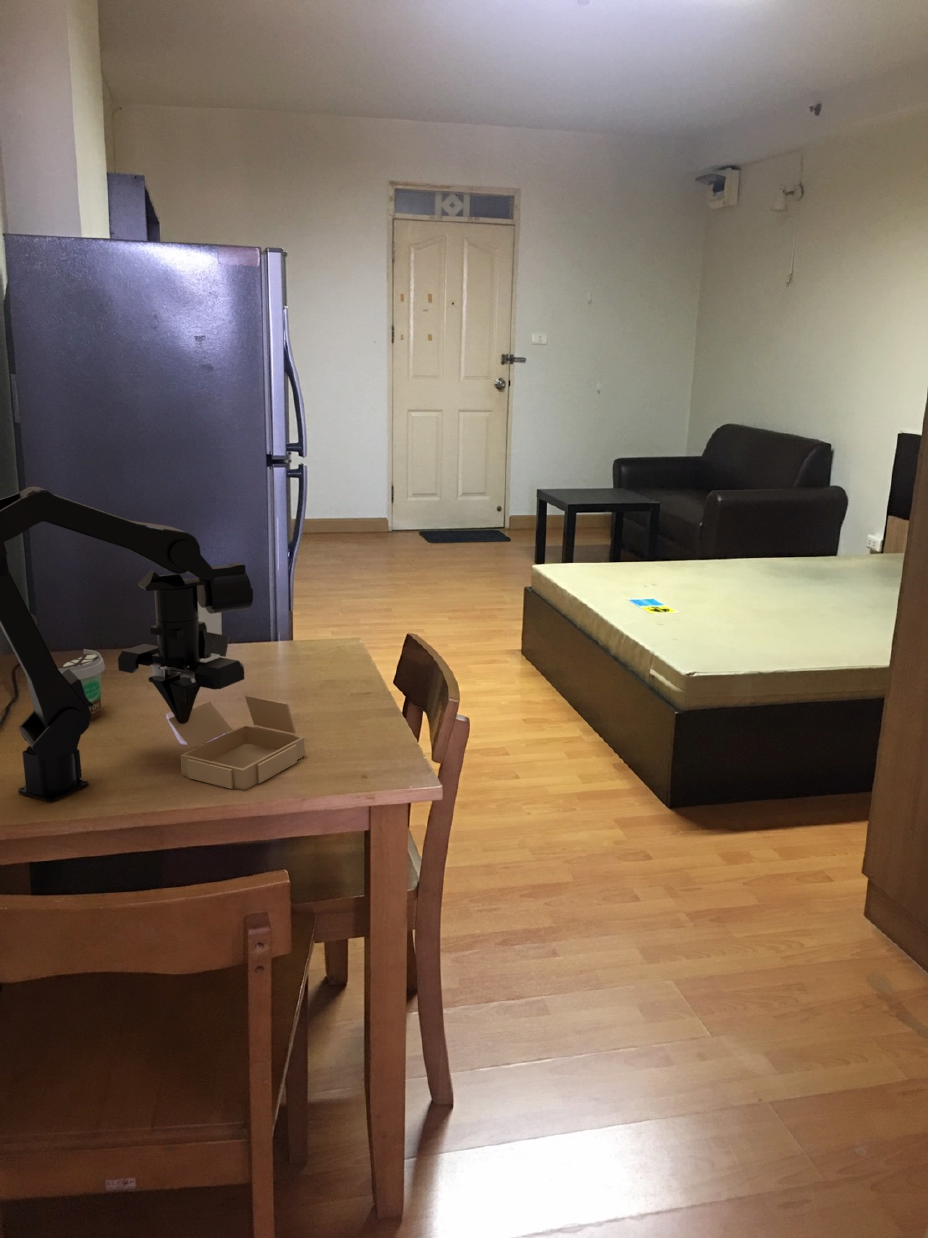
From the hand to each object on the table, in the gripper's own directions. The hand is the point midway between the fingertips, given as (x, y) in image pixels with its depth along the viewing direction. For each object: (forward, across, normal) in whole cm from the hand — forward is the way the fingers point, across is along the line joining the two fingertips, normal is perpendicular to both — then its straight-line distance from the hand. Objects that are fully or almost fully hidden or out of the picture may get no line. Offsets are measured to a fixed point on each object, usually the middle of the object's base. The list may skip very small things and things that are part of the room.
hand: (183, 722), depth 139 cm
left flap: (+3, -3, -3) cm, 5 cm away
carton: (+6, -8, -3) cm, 11 cm away
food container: (+6, +27, -6) cm, 28 cm away
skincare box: (+6, +27, -34) cm, 44 cm away
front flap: (+3, -8, -10) cm, 13 cm away
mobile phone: (+7, +9, -12) cm, 16 cm away
